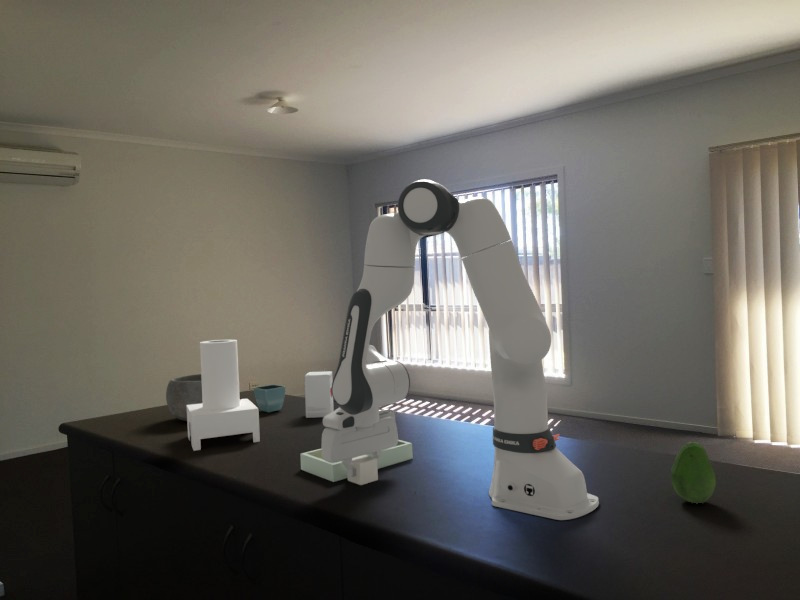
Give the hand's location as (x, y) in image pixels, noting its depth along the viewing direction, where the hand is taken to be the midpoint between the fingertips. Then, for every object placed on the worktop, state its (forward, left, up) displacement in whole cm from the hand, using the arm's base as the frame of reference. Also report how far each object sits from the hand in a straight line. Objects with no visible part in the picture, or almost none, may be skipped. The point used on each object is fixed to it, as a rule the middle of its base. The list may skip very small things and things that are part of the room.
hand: (362, 473), depth 140 cm
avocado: (-60, -36, -2) cm, 70 cm away
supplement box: (+68, -34, -2) cm, 76 cm away
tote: (+11, -7, -2) cm, 13 cm away
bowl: (+97, -2, -2) cm, 97 cm away
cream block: (0, 0, -2) cm, 2 cm away
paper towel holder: (+63, +5, -2) cm, 63 cm away
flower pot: (+89, -26, -2) cm, 93 cm away
